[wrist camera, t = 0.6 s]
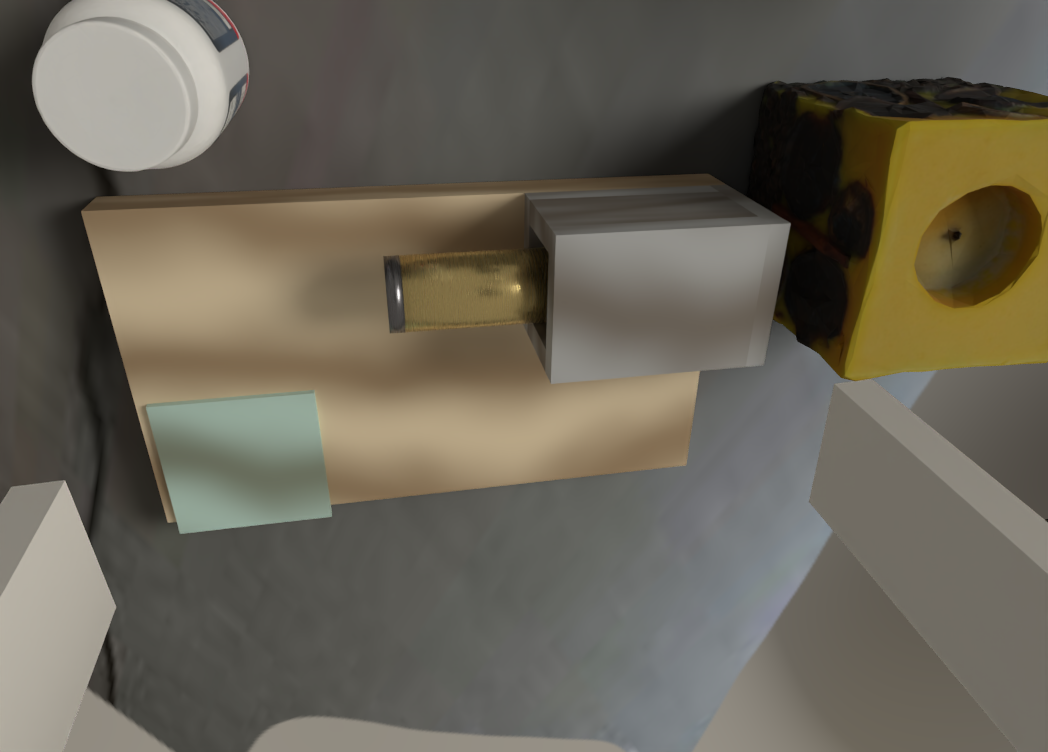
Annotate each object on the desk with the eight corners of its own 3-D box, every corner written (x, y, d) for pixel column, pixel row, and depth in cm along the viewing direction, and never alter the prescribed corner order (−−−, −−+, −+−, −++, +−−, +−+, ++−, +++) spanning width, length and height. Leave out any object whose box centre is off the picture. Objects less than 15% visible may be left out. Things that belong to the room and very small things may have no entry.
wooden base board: (96, 196, 30) (24, 262, 23) (707, 173, 34) (790, 223, 28) (178, 504, 37) (141, 620, 31) (671, 451, 42) (730, 542, 35)
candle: (907, 279, 40) (1059, 367, 31) (728, 294, 38) (837, 392, 29) (961, 72, 35) (1160, 109, 26) (758, 79, 33) (900, 121, 24)
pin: (382, 245, 30) (385, 272, 27) (577, 235, 31) (597, 260, 28) (387, 314, 31) (391, 346, 28) (574, 302, 32) (593, 331, 30)
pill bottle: (77, -13, 26) (-35, -2, 19) (229, -26, 27) (180, -21, 20) (127, 140, 29) (47, 204, 21) (265, 124, 30) (234, 181, 22)
